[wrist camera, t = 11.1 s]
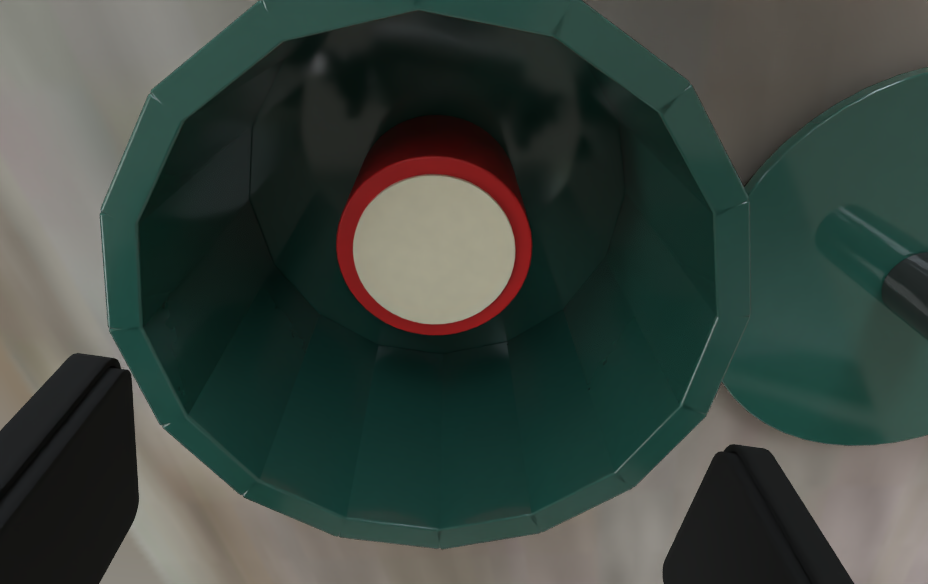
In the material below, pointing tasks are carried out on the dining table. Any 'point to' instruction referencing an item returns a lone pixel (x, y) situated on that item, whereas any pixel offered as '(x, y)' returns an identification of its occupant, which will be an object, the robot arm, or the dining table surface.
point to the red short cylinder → (435, 228)
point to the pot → (404, 353)
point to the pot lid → (842, 274)
